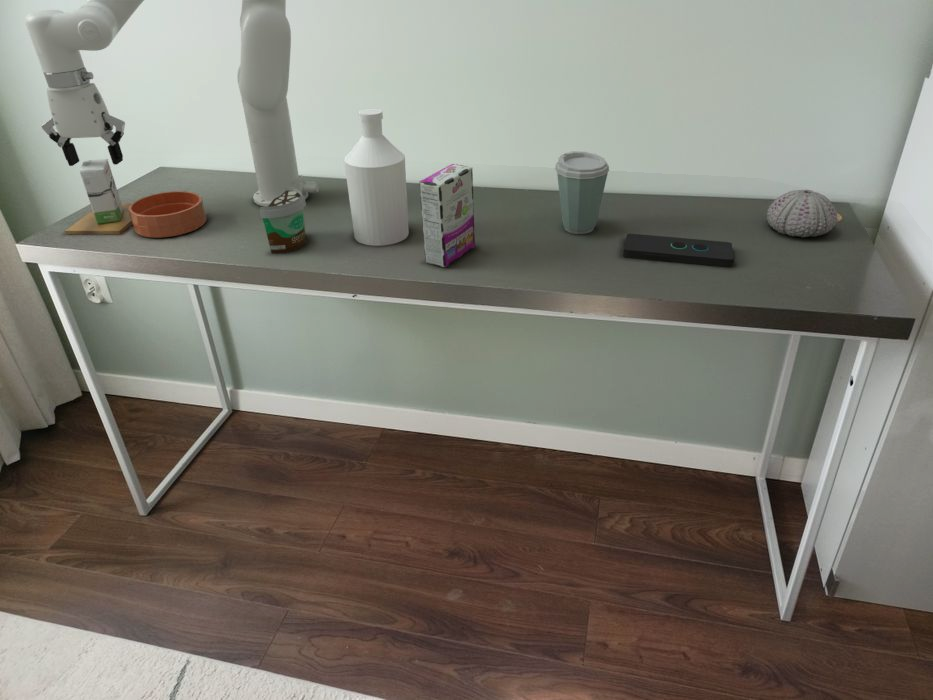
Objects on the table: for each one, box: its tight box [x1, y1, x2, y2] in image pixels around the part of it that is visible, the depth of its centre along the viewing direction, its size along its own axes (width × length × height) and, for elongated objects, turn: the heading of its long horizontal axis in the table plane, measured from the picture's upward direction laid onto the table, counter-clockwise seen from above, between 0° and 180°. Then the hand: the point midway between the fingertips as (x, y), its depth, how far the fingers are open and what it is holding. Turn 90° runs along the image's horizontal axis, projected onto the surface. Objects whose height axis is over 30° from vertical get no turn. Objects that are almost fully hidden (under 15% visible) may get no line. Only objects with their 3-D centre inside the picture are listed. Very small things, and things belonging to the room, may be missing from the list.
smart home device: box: [622, 233, 734, 268], centre depth 134 cm, size 8×2×20 cm
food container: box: [259, 187, 307, 254], centre depth 140 cm, size 12×6×10 cm, turn 168°
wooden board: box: [64, 202, 133, 235], centre depth 155 cm, size 12×16×1 cm
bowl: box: [128, 190, 208, 239], centre depth 151 cm, size 15×15×5 cm
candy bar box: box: [418, 163, 476, 268], centre depth 132 cm, size 11×5×16 cm, turn 148°
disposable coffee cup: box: [554, 151, 610, 235], centre depth 142 cm, size 11×11×15 cm
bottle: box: [343, 108, 410, 247], centre depth 139 cm, size 12×12×25 cm
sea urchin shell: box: [766, 189, 838, 238], centre depth 141 cm, size 13×14×8 cm
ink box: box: [79, 158, 123, 224], centre depth 152 cm, size 9×5×12 cm, turn 19°
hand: (96, 163), depth 149 cm, fingers open, 9 cm apart
